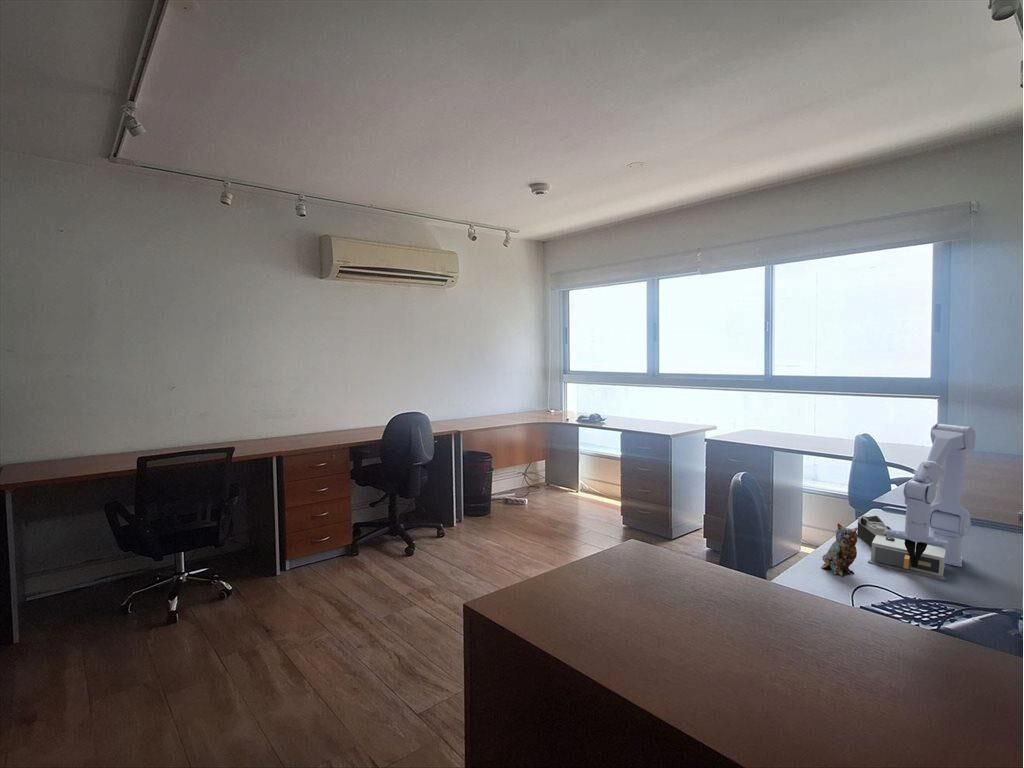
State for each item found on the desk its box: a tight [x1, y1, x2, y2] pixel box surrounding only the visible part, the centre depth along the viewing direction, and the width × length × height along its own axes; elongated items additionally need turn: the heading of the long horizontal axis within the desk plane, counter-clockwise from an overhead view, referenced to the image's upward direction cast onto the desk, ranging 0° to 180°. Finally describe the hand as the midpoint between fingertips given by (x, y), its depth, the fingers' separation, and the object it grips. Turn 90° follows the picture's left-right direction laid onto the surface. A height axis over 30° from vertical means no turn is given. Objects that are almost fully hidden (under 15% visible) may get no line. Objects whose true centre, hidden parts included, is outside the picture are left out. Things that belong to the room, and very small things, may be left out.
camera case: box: [867, 535, 946, 581], centre depth 169 cm, size 12×19×6 cm, turn 49°
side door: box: [875, 546, 911, 569], centre depth 166 cm, size 5×9×5 cm, turn 49°
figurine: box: [820, 522, 859, 578], centre depth 164 cm, size 9×9×15 cm
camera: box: [856, 514, 893, 550], centre depth 186 cm, size 16×9×10 cm, turn 169°
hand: (914, 565), depth 162 cm, fingers closed
